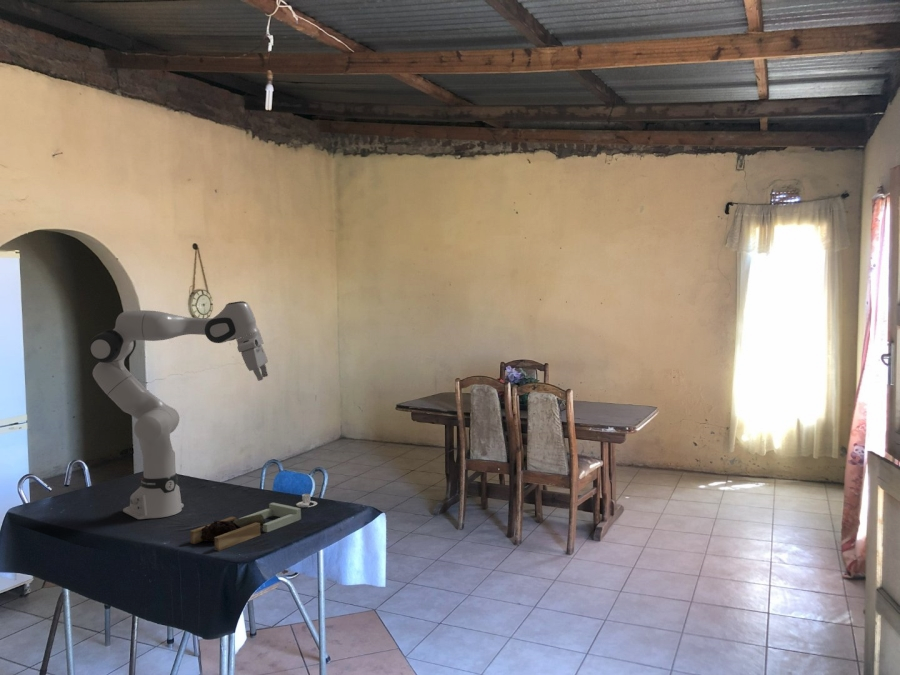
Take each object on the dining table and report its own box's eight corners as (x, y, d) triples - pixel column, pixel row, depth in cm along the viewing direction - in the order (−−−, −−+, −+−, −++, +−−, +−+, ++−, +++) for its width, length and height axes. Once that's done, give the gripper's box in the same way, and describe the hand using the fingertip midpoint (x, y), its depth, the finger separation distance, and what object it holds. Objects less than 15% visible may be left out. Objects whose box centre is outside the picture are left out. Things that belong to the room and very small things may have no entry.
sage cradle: (239, 525, 243) (238, 514, 242) (273, 513, 256) (273, 502, 256) (267, 532, 235) (266, 520, 235) (301, 519, 249) (300, 508, 248)
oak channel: (190, 542, 226) (190, 530, 226) (232, 527, 240) (232, 516, 240) (219, 550, 218) (218, 538, 218) (260, 535, 233) (260, 523, 232)
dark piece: (256, 526, 242) (256, 508, 242) (268, 532, 236) (268, 513, 236) (199, 541, 227) (198, 521, 227) (210, 547, 222) (209, 527, 221)
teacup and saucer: (305, 510, 261) (305, 499, 261) (290, 506, 265) (289, 496, 265) (321, 504, 268) (321, 493, 268) (306, 501, 272) (306, 490, 272)
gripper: (248, 343, 265) (260, 377, 267) (236, 348, 245) (249, 385, 246) (264, 338, 265) (276, 371, 267) (253, 342, 245) (266, 379, 247)
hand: (263, 378), depth 256 cm, fingers open, 8 cm apart
